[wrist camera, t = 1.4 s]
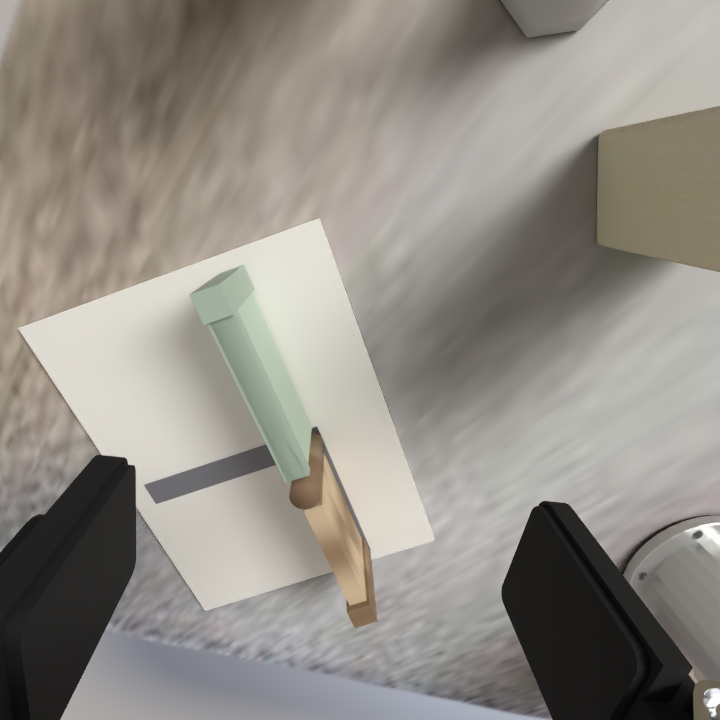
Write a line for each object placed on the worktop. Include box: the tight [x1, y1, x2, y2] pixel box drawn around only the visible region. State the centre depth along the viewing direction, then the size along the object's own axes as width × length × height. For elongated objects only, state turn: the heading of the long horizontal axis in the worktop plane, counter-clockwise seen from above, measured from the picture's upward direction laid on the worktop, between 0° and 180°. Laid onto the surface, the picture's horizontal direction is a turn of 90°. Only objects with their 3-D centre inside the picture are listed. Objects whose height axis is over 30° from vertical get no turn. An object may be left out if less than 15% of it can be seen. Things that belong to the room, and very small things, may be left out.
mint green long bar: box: [189, 265, 312, 483], centre depth 26 cm, size 12×2×6 cm, turn 19°
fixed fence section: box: [289, 431, 377, 628], centre depth 30 cm, size 12×2×6 cm, turn 19°
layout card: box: [18, 218, 435, 611], centre depth 31 cm, size 26×20×1 cm
